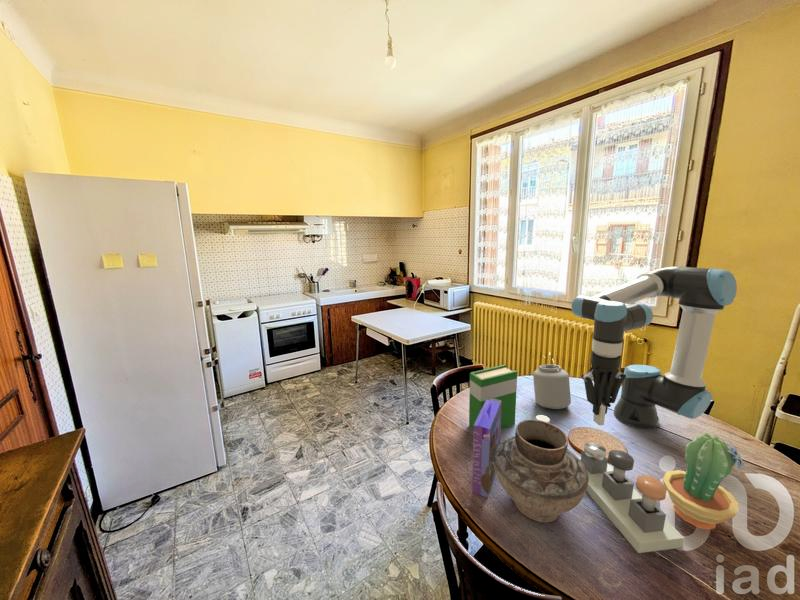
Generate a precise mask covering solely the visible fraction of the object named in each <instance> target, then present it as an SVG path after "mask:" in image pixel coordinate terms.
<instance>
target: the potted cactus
mask: <svg viewBox="0 0 800 600" xmlns="http://www.w3.org/2000/svg"><path fill="white" fill-rule="evenodd" d="M685 447H686V448H685V453H684V454H685V456H684V458H685V463H686V471H685V470H680V469H679V470H678V469H676V470H670V471H666V472H665V474H664V475H663V478H662V483H663V484H664V485H665V487H666V489H667V491H666V492H667V493H668V495H669V498H670V500H671V503H672V504H673V506H672V508H673V510H674V512H675V513H676V514H677V516H679V517H680V518H681V519H682V520H683V521H685V522H686V523H688V524H691V525H692V526H694V527H696V528H700V529H704V530H707V531H708V530H713V529H716V526H717V524H721V523H724V522H725V521H727V520H728V519H730V518H735V516H737V514H738V512H739V507H740V503H739V502H738V501H737V500H736V498H735V497H734V496H733V494H732V493H731V492H730V491H729V490H727V489H725V488H724V487H723V486H721V483H722V482H723V480H724V479H725V478H726V477H728V476H729V475H730V474H731V473H732V472H733V469H734V468H733V467H735V468H738V467H739V469H738V473H739V474H740V473H741V472H742V470H743V467H744V466H745V462H744V461H743V459H742V456H741V455H740V453H739V451H738V450H737V448H736V447H735V446H733V445H731V444H728V443H726V442H725V441H724V440H722V439H720V437H719V436H717V435H712V436H711V435H710V434H709V433H706V432H705V433H703V434H700V435H699V436H696V438H695V439H692V440H690V441H689V442H688V443H687V444H686V446H685Z"/></svg>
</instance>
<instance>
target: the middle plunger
mask: <svg viewBox="0 0 800 600" xmlns="http://www.w3.org/2000/svg"><path fill="white" fill-rule="evenodd" d="M607 459H608V464H609V465H610V466H611V467H613V478H614V479H615V480H617V481H624V478H625V476H626V472H627V471H632V470H633V469H634V466H635V465H634V463H635V460H634V458H633V457H632V456H631V455H630V454H629V453H627V452H626V451H625V452H624V451H623V450H617V449H611V450H610V451H609V452H608V456H607Z"/></svg>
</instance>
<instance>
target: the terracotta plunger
mask: <svg viewBox="0 0 800 600" xmlns="http://www.w3.org/2000/svg"><path fill="white" fill-rule="evenodd" d="M635 488H636V491H637V490H638V491H637V492H638V493H639V494H640V495H641V496H642V501H641V506H642V507H643V508H644V509H645V510H647V511H651V512H652V511H654V510H655V504H656V505H657V501H664V500H665V499H666V494H667V492H668V491H667V489H666V487H665V485H664V484H663V481H660V480H659V479H657V478H655V477H652V476H649V475H644V474H643V475H638V476H637V478H636V483H635Z"/></svg>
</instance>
